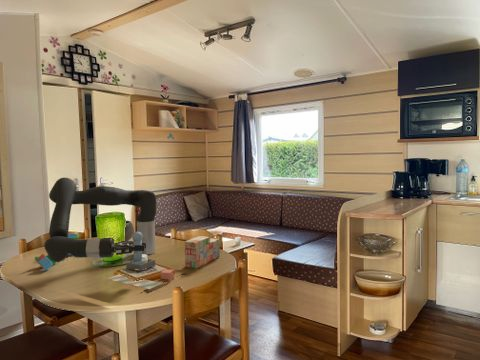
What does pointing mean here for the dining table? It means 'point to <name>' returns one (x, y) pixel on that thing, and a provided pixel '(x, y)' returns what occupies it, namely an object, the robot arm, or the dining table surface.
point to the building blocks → (44, 261)
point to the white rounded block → (145, 258)
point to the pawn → (137, 254)
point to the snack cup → (73, 238)
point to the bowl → (128, 230)
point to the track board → (138, 283)
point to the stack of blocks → (201, 251)
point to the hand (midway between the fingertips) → (145, 246)
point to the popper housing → (140, 265)
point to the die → (167, 275)
